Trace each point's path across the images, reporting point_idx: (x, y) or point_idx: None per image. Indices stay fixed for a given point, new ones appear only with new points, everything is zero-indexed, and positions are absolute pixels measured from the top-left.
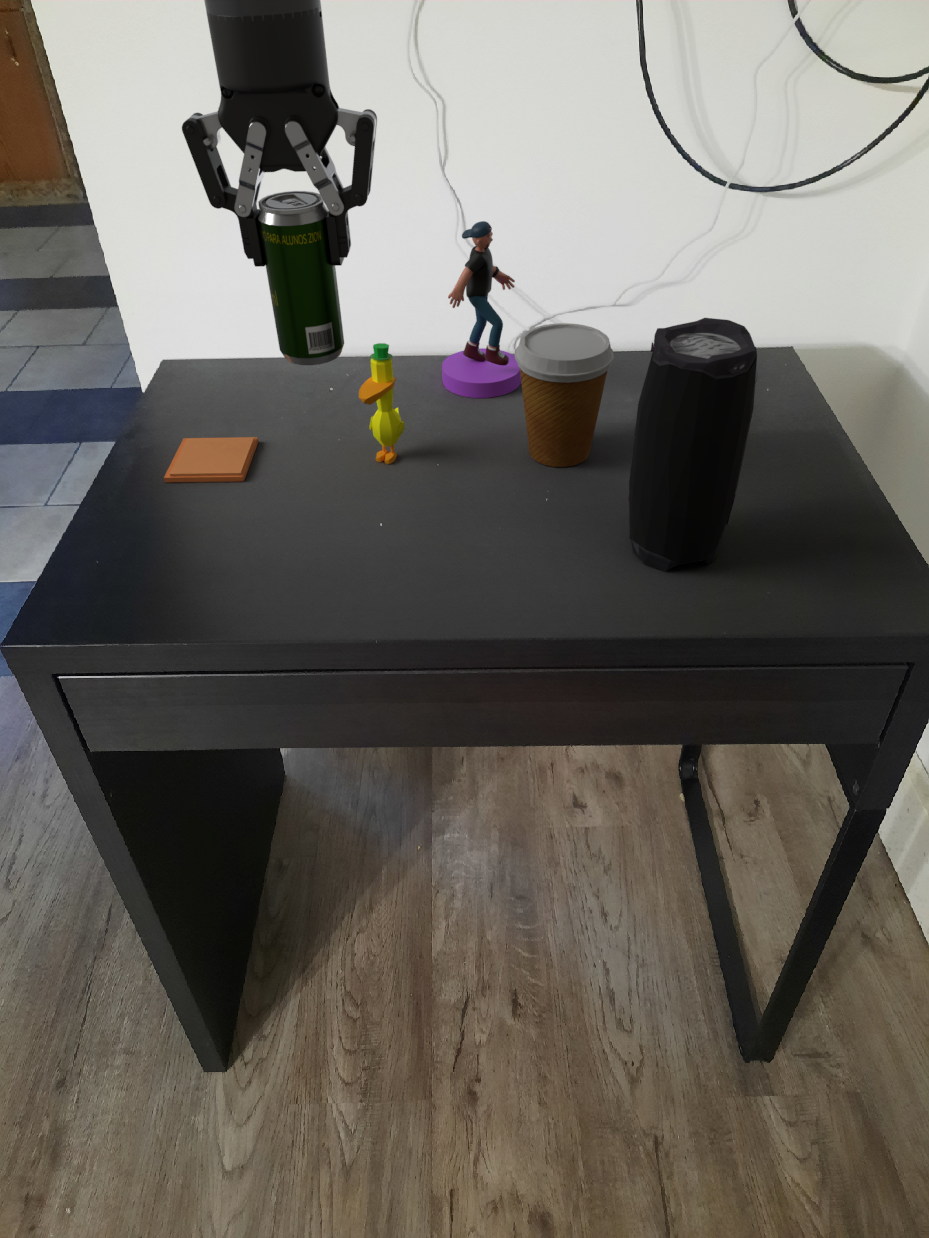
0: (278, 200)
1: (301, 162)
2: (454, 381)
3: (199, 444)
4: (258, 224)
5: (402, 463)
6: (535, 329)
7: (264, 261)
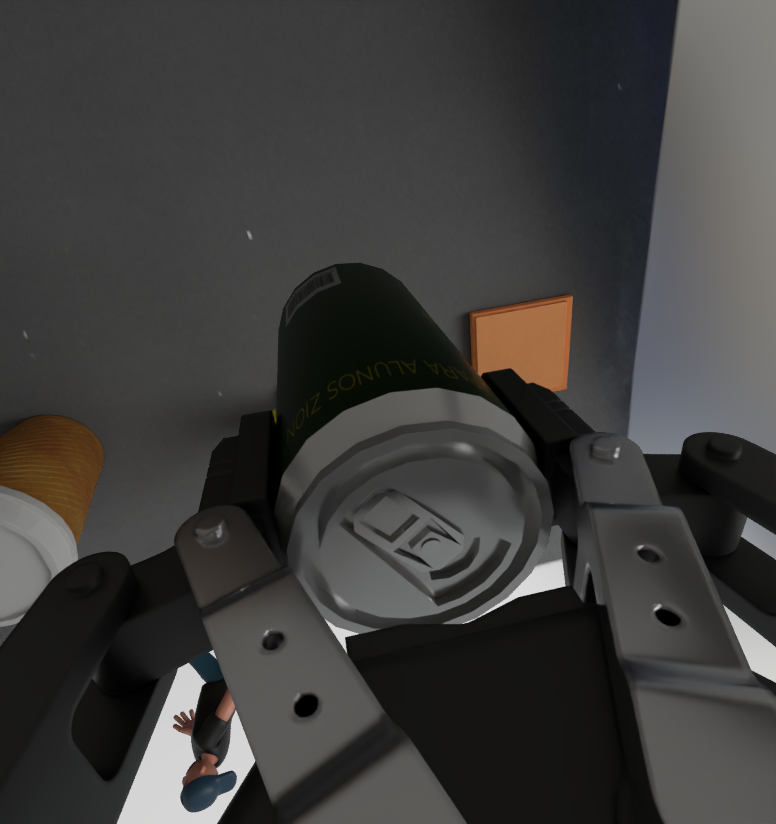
0: (482, 555)
1: (365, 675)
2: None
3: (543, 374)
4: None
5: (270, 388)
6: None
7: None
